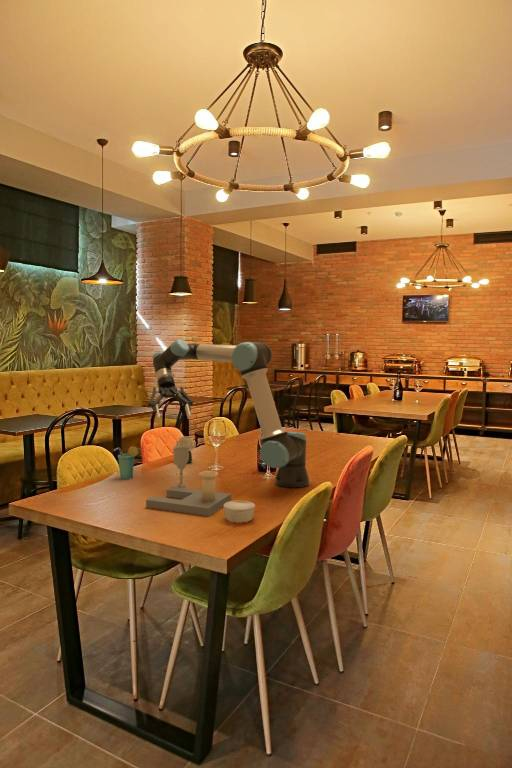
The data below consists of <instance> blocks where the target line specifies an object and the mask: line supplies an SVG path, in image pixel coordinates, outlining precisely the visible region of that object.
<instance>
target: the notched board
mask: <svg viewBox="0 0 512 768" xmlns="http://www.w3.org/2000/svg"><path fill="white" fill-rule="evenodd" d="M198 476H199V478H201V489H196V488H195V489H194V488H187V487H186V488H180V487H177V486H171V487H169V488H168V489H166V497H161V496H151V497H149V498H147V499H145V501H146V502H145V503H146V504H145V508H146V507H147V509H152V508H155V509H154V510H159V509H161V511H166V510H169V511H168V512H173V511H175V513H180V512H183V513H182V514H187V513H190V514H189V515H194V514H196V515H197V516H202V515H204V517H210V516H212V515H213V514H215V513H216V512H217V510H218V509H219V510H221V509H222V508H224V507H223V506H224V504H225V503H226V502H229V501H232V493H227V492H220V491H216V478H218V476H219V472H218V471H215V470H203V471H200V472H199V474H198ZM170 497H171V498H170ZM177 498H178V499H177ZM221 507H222V508H221ZM220 508H221V509H220ZM219 510H218V511H219ZM215 511H216V512H215ZM214 512H215V513H214ZM212 513H213V514H212ZM211 514H212V515H211Z"/></svg>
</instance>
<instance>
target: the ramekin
mask: <svg viewBox="0 0 512 768" xmlns="http://www.w3.org/2000/svg"><path fill="white" fill-rule="evenodd" d="M222 508H223V509H224V517H225V519H226V520H227V521H228V522H231V523H233V522H236V524H244V523H243V522H245V523H248V521H249V522H251V521H252V519H253V517H254V513H255V509H256V504H255V503H253V502H252V501H249V500H231V501H229V502H226V503H225V504H224V506H223V507H222ZM250 520H251V521H250Z"/></svg>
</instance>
